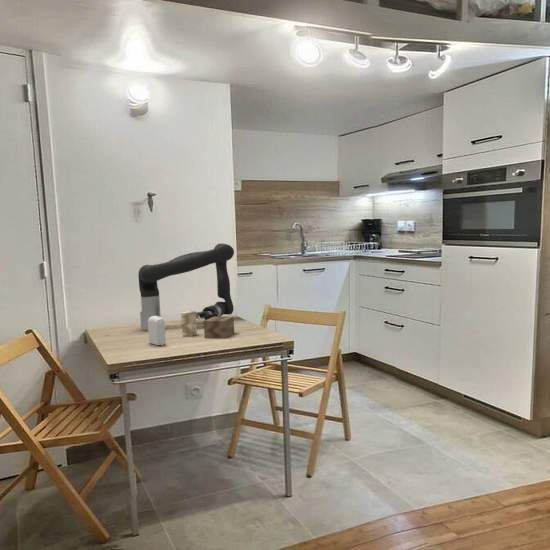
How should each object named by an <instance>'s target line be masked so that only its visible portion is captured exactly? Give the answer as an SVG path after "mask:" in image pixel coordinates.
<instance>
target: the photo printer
mask: <svg viewBox="0 0 550 550" xmlns="http://www.w3.org/2000/svg"><path fill="white" fill-rule="evenodd" d="M148 342H149V344H152V345H155V346H159V345H161V346H165V345H166V344H167V343H166V342H167V340H166V327H165V321H164V319H163V318H162V316H161V317H159V316H152V317H150V318H149V319H148ZM164 344H165V345H164Z"/></svg>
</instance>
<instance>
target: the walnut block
mask: <svg viewBox="0 0 550 550" xmlns="http://www.w3.org/2000/svg"><path fill="white" fill-rule="evenodd" d="M203 330H204V332H203V333H204V335H203V336H204V339H226V338H228V337H230V336H232V335H233V334H235V319H234V316H220V317H212V318H210V319H207V320H205V319H204V320H203ZM231 334H232V335H231ZM229 335H230V336H229Z"/></svg>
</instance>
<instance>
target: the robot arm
mask: <svg viewBox="0 0 550 550" xmlns="http://www.w3.org/2000/svg"><path fill="white" fill-rule="evenodd" d="M234 255H235V250H234V248H233V246H231V245H229V244H226V243H218V244H216V245H215V246H214V247H213V249H209V250H203V251H195V252H194V251H193V252H189V253H186V254H182V255H180V256H176V257H174V258H172V259H171V260H168V261H166V262H161V263H156V264H145V265H142V266H141V267H140V268H139V270H138V272H137V273H138V274H137V275H138V287H139V293H140V305H141V310H140V312H139V313H140V314H139V315H140V330H141V331H148V319H149V318H150V317H152V316H159V317H161V318H162V316H161V314H162V313H161V302H160V301H161V300H160V298H161V297H160V290H159V288H158V287H159V286H158V281H161V280H163V279H165V278H168V277H171V276H175V275H181V274H184V273H185V274H186V273H189V272H191V271H194V270H198V269H201V268H204V267H206V266H208V265H212V264H215V269H216V281H217V282H216V283H217V291H216V292H217V293H216V294H217V297H218V298H220V299H223V300H224V301H216V302H215V304H211V305H208V306H206V307H204V308H203V309H202V311H198V312H197V311H196V320H204V321H205V320H207V319H210V318H212V317H223V315H227V316H228V315H232V314H233V312H234V308H235V307H234V304H233V300H232V296H231V282H230V277H229V273H228V268H227V267H228V266H227V264H228V263H227V262H228V261H229V260H231V259H233V257H234Z"/></svg>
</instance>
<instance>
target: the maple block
mask: <svg viewBox="0 0 550 550" xmlns="http://www.w3.org/2000/svg"><path fill="white" fill-rule="evenodd" d="M196 312H197V311H195V310H194V311H189V310H188V311H183V312H180V316H181V318H180V319H181V334H182V337H194V336H196V335H198V334H197V333H198V332H197V319H196ZM195 334H196V335H195ZM193 335H194V336H193Z"/></svg>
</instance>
